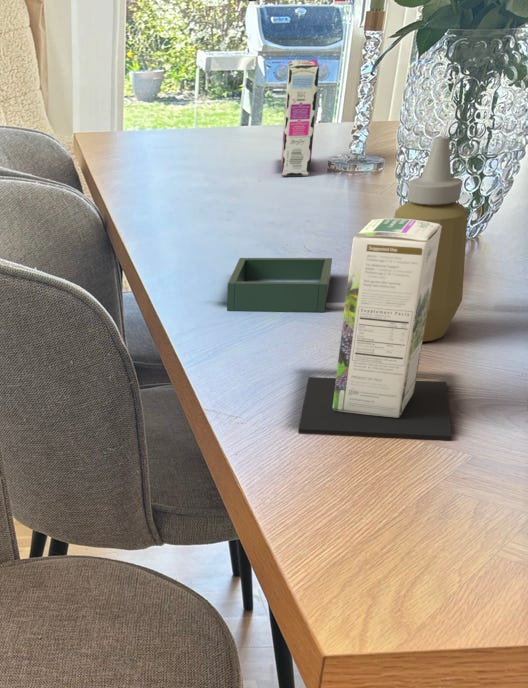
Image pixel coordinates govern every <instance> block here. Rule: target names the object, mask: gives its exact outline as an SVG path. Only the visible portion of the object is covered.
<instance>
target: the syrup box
mask: <svg viewBox="0 0 528 688" xmlns="http://www.w3.org/2000/svg"><path fill="white" fill-rule="evenodd" d="M441 228H442V226H441V225H440V224H437V223H432V222H426V221H420V220H413V219H394V218H379V219H378V218H377V219H371V220H370V221H369V222H368V223H367V224H366V225H365V226H364V227H363V228H362V229H361V230H360V231H359V232H358V233H356V235H355V236H354V237H353V239H352V244H351V246H352V247H351V252H350V261H349V270H348V276H347V278H348V279H347V285H346V292H345V293H346V294H345V303H344V310H343V318H342V327H341V334H340V342H339V351H338V361H337V367H336V377H335V378H336V383H335V391H334V400H333V407H332V408H333V409H334V410H335V411H341V412H349V413H357V414H366V415H375V416H385V417H394V418H399V417H400V416H401V414H402V412H403V411H404V409H405V407H406V405H407V404H408V402H409V400H410V399H411V397H412V395H413V393H414V388H415V383H416V381H417V376H418V370H419V364H420V359H421V354H422V348H423V347H422V346H423V342H422V341H423V335H424V329H425V324H426V318H427V312H428V306H429V300H430V294H431V288H432V282H433V276H434V270H435V263H436V257H437V251H438V245H439V239H440V234H441Z"/></svg>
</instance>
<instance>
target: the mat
mask: <svg viewBox="0 0 528 688" xmlns="http://www.w3.org/2000/svg"><path fill="white" fill-rule="evenodd" d="M335 383H336V377H318V376H309V377H308V378H307V384H306V387H305V388H306V389H305V394H304V399H303V404H302V409H301V413H300V414H301V415H300V420H299V424H298V431H297V432H298V434H311V435H312V434H313V435H330V436H331V435H332V436H349V437H350V436H352V437H353V436H354V437H371V438H372V437H373V438H394V439H411V440H412V439H413V440H415V439H416V440H433V441H434V440H435V441H452V439H453V433H452V432H453V431H452V423H451V411H450V404H449V403H450V402H449V395H448V394H449V393H448V383H447V381H439V380H438V381H437V380H436V381H435V380H416V383H415V388H414V393H413V395H412V397H411V399H410V400H409V402H408V404H407V405H406V407H405V409H404V411H403V412H402V414H401V416H400V417H399V418H394V417H385V416H375V415H366V414H357V413H349V412H341V411H335V410H334V409H333V408H332V407H333V400H334V391H335Z"/></svg>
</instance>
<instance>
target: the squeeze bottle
mask: <svg viewBox="0 0 528 688" xmlns="http://www.w3.org/2000/svg"><path fill="white" fill-rule="evenodd" d="M451 169H452V168H451V151H450V137H449V136H436V137H435V138H434V139H433V144H432V146H431V148H430V152H429V154H428V158H427V161H426V163H425V166H424V170H423V172H422V175H421V177H417V178H413V179H410V181H409V183H408V189H407V197H406V198H407V201H408V202H406V203H404V204H402V205H401V206H399V207H398V208H397V209H396V210H395V212H394V217H393V219H413V220H420V221H426V222H432V223H437V224H440V225H441V226H442V228H441V234H440V239H439V245H438V251H437V257H436V263H435V270H434V276H433V282H432V288H431V294H430V300H429V306H428V312H427V318H426V324H425V329H424V335H423V341H422V343H423V342H431V341H432V342H433V341H435V340H439V339H441V338H442V337H444V336H445V334H446V333H447V331H448V329H449V326H450V325H451V323H452V321H453V319H454V317H455V315H456V313H457V311H458V309H459V307H460V306H461V304H462V302H463V290H464V275H465V260H466V248H467V247H466V245H467V232H468V215H469V212H468V209H467V208H466V207H465V206H464V205H463V204H462V203H459V202H458V201H459V200H460V198H461V193H462V186H463V182H462V180H461V179H459V178H457V177H452V170H451Z"/></svg>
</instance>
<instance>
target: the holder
mask: <svg viewBox="0 0 528 688" xmlns="http://www.w3.org/2000/svg"><path fill="white" fill-rule="evenodd" d="M332 264H333V258H332V257H239V258H238V262H237V263H236V265H235V267H234V269H233V271H232V274H231V276H230V278H229V280H228V282H227V293H226V296H227V297H226V311H230V312H233V311H235V312H241V311H242V312H286V313H287V312H288V313H290V312H293V313H296V312H297V313H298V312H300V313H325V312H326V306H327V298H328V292H329V287H330V283H331V282H330V281H331V275H332V266H333V265H332ZM245 280H277V281H245ZM278 280H279V281H278ZM280 280H281V281H280ZM282 280H284V281H282ZM286 280H291V281H286ZM292 280H295V281H292ZM298 280H299V281H298ZM311 280H313V281H314V282H313V281H311Z"/></svg>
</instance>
